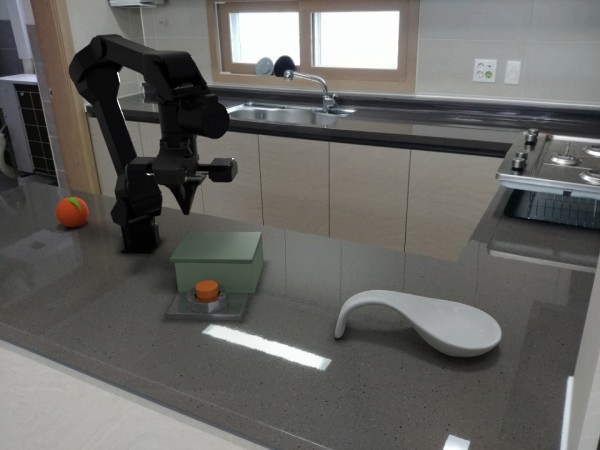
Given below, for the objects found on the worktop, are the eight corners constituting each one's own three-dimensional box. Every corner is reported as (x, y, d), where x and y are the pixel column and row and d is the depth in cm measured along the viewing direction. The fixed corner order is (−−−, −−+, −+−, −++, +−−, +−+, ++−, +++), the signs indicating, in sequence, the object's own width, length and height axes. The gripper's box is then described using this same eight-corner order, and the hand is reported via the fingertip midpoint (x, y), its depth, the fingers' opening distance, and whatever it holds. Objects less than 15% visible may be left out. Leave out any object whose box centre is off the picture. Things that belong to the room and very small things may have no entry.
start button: (193, 300, 87) (192, 290, 86) (199, 289, 90) (198, 280, 89) (215, 300, 86) (214, 291, 86) (220, 289, 90) (219, 280, 89)
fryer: (178, 292, 95) (174, 262, 92) (195, 262, 105) (192, 235, 103) (254, 293, 93) (252, 264, 91) (263, 263, 104) (262, 236, 102)
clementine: (99, 226, 123) (94, 196, 120) (70, 235, 118) (64, 205, 115) (81, 217, 128) (76, 189, 125) (53, 227, 123) (47, 198, 120)
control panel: (167, 319, 87) (165, 303, 85) (179, 297, 93) (177, 281, 92) (240, 321, 86) (239, 305, 84) (248, 298, 92) (247, 283, 91)
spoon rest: (494, 326, 83) (500, 286, 80) (504, 375, 72) (511, 330, 69) (341, 312, 87) (342, 273, 85) (330, 356, 77) (330, 313, 74)
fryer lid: (169, 262, 92) (169, 258, 92) (188, 235, 103) (187, 231, 103) (252, 263, 91) (252, 259, 91) (262, 235, 102) (262, 231, 101)
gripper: (105, 141, 85) (119, 231, 91) (221, 142, 83) (227, 234, 89) (131, 124, 95) (143, 206, 101) (235, 126, 93) (240, 209, 99)
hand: (186, 214), depth 97 cm, fingers closed
